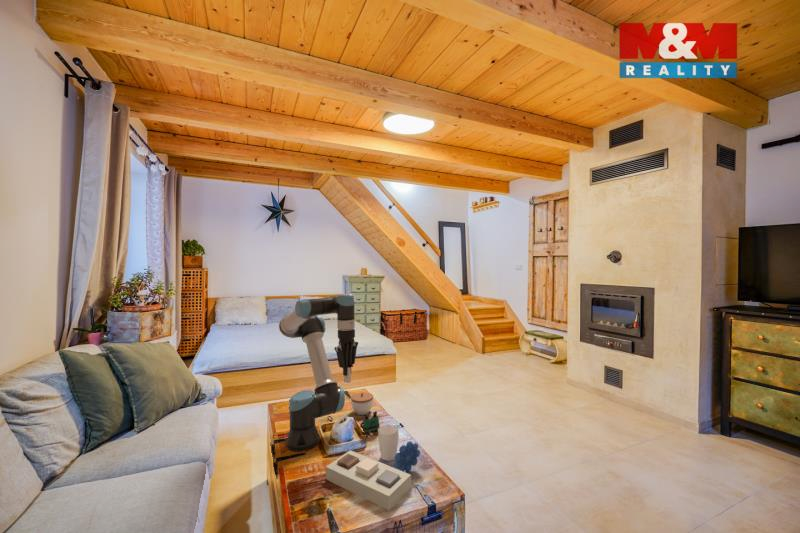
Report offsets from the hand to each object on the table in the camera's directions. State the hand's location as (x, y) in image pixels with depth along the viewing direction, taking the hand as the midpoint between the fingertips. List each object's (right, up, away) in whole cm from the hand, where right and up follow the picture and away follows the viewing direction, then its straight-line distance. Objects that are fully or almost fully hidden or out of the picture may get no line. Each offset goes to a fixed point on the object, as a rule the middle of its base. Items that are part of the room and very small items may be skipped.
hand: (347, 381), depth 153 cm
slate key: (+19, -30, -26) cm, 44 cm away
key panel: (+11, -33, -20) cm, 40 cm away
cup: (+18, -32, -2) cm, 37 cm away
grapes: (+26, -32, -12) cm, 43 cm away
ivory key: (+11, -29, -20) cm, 37 cm away
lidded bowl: (+2, -32, +43) cm, 53 cm away
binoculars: (+8, -32, +20) cm, 39 cm away
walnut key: (+3, -30, -14) cm, 34 cm away
